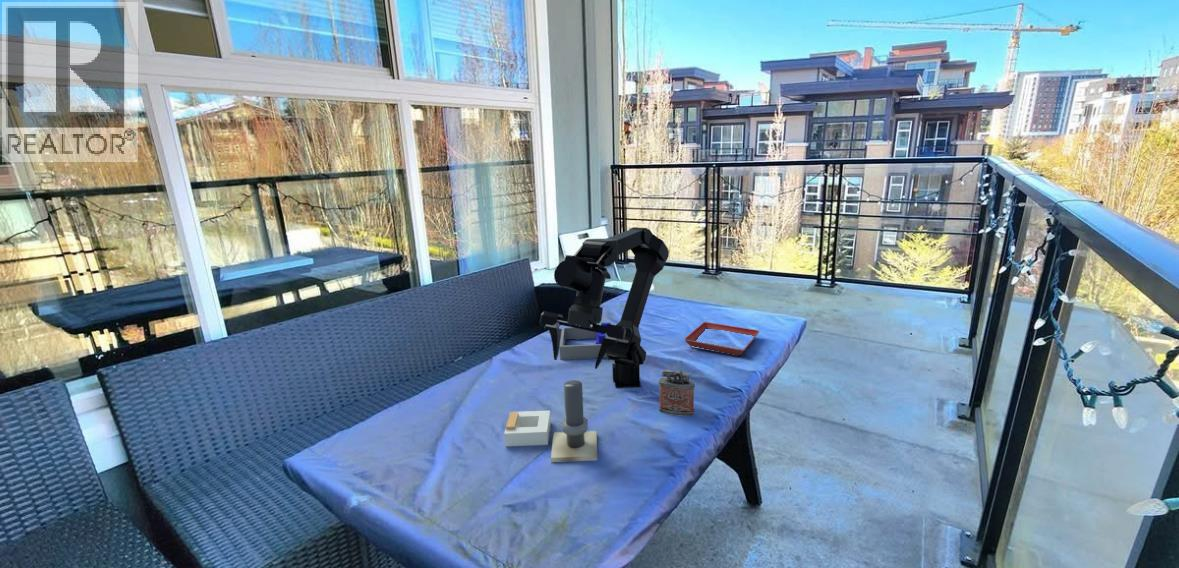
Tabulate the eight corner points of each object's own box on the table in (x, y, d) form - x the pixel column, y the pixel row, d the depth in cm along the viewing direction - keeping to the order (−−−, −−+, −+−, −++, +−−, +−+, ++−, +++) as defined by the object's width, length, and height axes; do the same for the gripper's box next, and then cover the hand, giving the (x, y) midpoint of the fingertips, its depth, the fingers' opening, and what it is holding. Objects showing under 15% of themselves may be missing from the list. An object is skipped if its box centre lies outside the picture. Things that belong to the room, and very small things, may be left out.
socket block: (550, 422, 111) (549, 407, 110) (547, 444, 103) (546, 428, 102) (511, 424, 111) (510, 409, 110) (505, 446, 103) (503, 430, 102)
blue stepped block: (597, 340, 160) (596, 322, 158) (611, 340, 159) (610, 322, 158) (594, 355, 148) (593, 336, 146) (609, 355, 148) (609, 336, 146)
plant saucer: (759, 339, 155) (760, 329, 154) (743, 360, 140) (744, 349, 139) (703, 331, 164) (703, 321, 163) (683, 349, 150) (683, 339, 149)
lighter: (695, 410, 114) (695, 369, 111) (693, 417, 111) (693, 376, 108) (660, 405, 116) (660, 366, 114) (657, 412, 113) (657, 372, 111)
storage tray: (613, 337, 161) (613, 325, 160) (616, 357, 145) (616, 344, 144) (562, 339, 161) (562, 327, 160) (560, 359, 145) (559, 346, 144)
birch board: (596, 435, 105) (596, 430, 105) (597, 460, 97) (597, 455, 96) (554, 436, 105) (553, 432, 105) (551, 462, 97) (550, 457, 96)
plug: (583, 433, 104) (580, 376, 101) (592, 446, 100) (590, 387, 96) (559, 439, 103) (556, 381, 99) (567, 452, 98) (564, 392, 95)
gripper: (540, 283, 104) (525, 356, 103) (628, 299, 101) (613, 375, 100) (552, 288, 115) (538, 355, 114) (631, 303, 112) (618, 372, 111)
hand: (575, 364), depth 109 cm, fingers open, 9 cm apart
